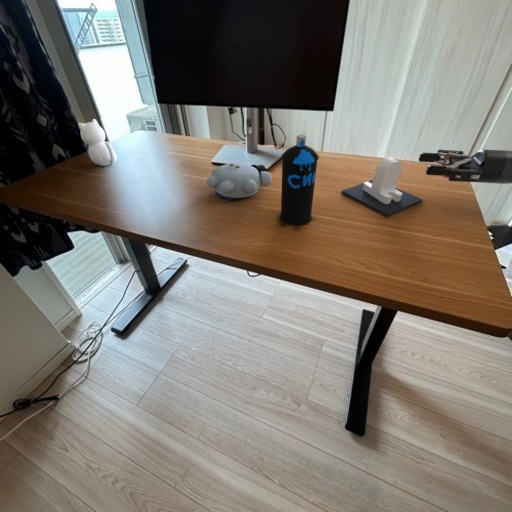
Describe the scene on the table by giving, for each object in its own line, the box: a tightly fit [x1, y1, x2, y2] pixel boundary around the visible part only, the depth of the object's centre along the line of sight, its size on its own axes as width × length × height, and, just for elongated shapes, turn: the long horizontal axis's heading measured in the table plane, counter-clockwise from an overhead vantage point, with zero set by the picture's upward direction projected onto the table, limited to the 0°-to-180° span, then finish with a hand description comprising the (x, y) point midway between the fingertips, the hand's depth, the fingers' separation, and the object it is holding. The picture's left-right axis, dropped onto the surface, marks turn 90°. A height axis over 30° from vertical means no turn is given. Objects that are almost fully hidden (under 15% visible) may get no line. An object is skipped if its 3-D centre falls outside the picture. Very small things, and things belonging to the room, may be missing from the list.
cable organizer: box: [363, 156, 403, 204], centre depth 72 cm, size 5×10×10 cm, turn 20°
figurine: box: [206, 162, 273, 202], centre depth 80 cm, size 17×8×20 cm
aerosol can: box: [279, 134, 320, 227], centre depth 63 cm, size 8×8×20 cm
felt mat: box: [341, 179, 423, 218], centre depth 76 cm, size 16×14×1 cm
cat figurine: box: [77, 118, 118, 167], centre depth 98 cm, size 9×12×15 cm
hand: (423, 163), depth 68 cm, fingers open, 8 cm apart
